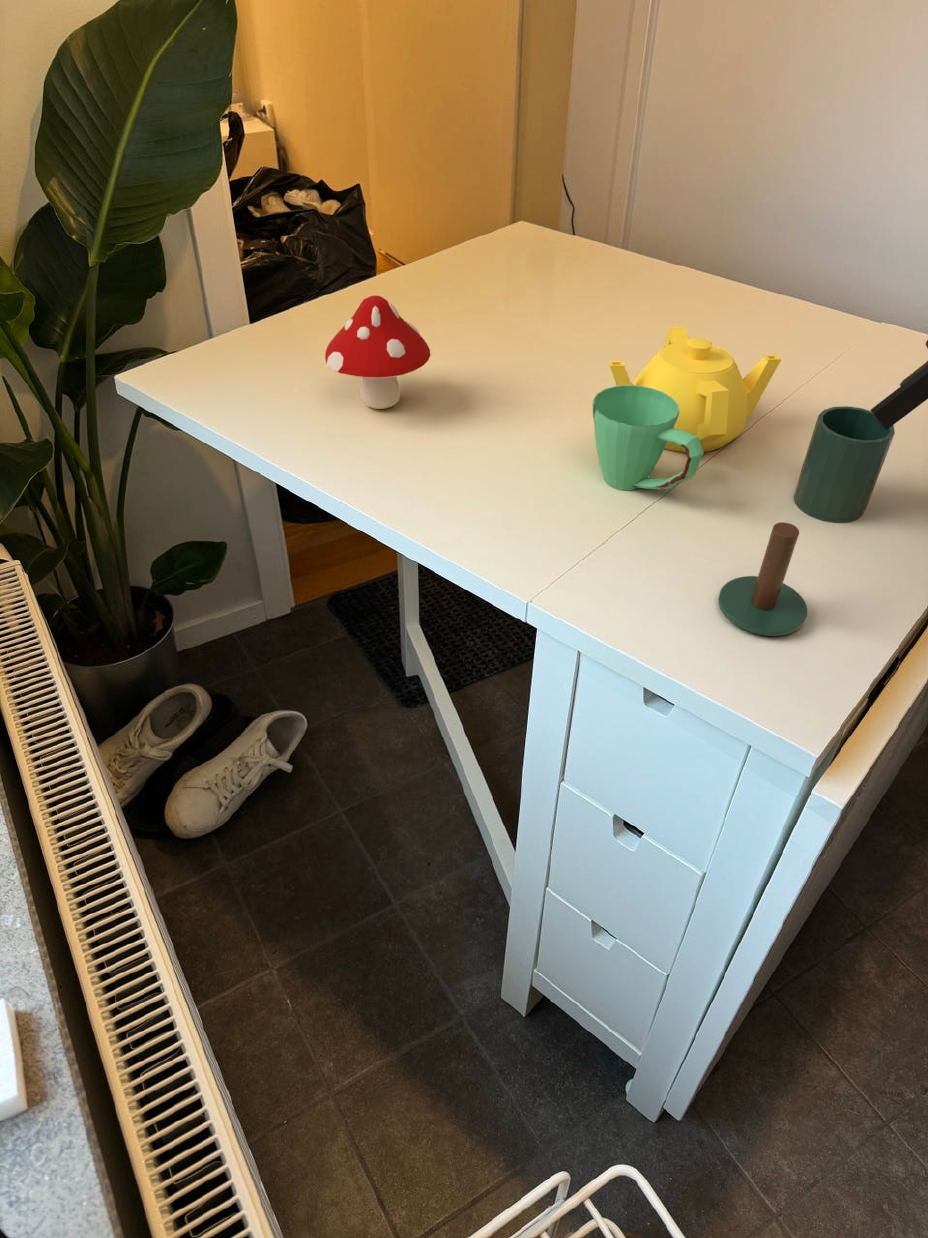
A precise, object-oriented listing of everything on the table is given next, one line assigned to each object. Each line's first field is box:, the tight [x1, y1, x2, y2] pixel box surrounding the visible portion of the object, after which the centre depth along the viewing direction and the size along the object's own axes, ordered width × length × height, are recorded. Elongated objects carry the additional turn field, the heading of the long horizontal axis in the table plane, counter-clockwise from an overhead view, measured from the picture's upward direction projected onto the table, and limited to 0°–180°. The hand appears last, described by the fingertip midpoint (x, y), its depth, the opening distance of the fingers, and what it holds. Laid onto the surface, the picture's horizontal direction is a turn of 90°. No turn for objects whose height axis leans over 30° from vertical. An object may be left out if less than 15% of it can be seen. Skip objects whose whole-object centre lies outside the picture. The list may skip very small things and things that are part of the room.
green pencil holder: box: [793, 405, 896, 524], centre depth 102 cm, size 8×8×10 cm
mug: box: [591, 385, 705, 491], centre depth 104 cm, size 15×10×10 cm
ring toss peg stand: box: [717, 521, 808, 637], centre depth 87 cm, size 9×9×10 cm
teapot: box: [608, 326, 782, 453], centre depth 114 cm, size 17×17×12 cm
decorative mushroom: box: [324, 295, 431, 410], centre depth 116 cm, size 14×14×15 cm
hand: (915, 457), depth 80 cm, fingers open, 13 cm apart
